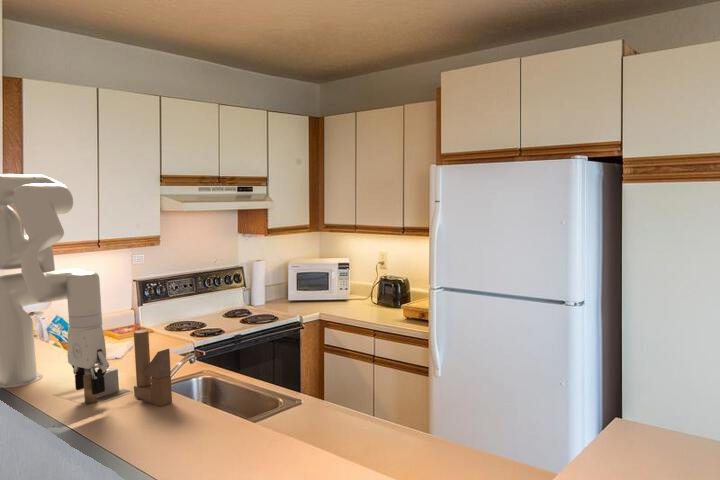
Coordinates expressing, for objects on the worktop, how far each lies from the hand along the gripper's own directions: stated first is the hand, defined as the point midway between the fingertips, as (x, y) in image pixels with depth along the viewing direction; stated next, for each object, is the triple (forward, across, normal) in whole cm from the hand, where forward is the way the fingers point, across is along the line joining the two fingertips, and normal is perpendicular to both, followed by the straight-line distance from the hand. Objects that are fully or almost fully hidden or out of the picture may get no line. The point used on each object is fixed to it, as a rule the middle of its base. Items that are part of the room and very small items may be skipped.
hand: (90, 390), depth 147 cm
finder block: (+3, -5, +7) cm, 9 cm away
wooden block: (+4, +11, +10) cm, 16 cm away
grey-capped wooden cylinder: (+3, 0, 0) cm, 3 cm away
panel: (+4, -6, +4) cm, 8 cm away
